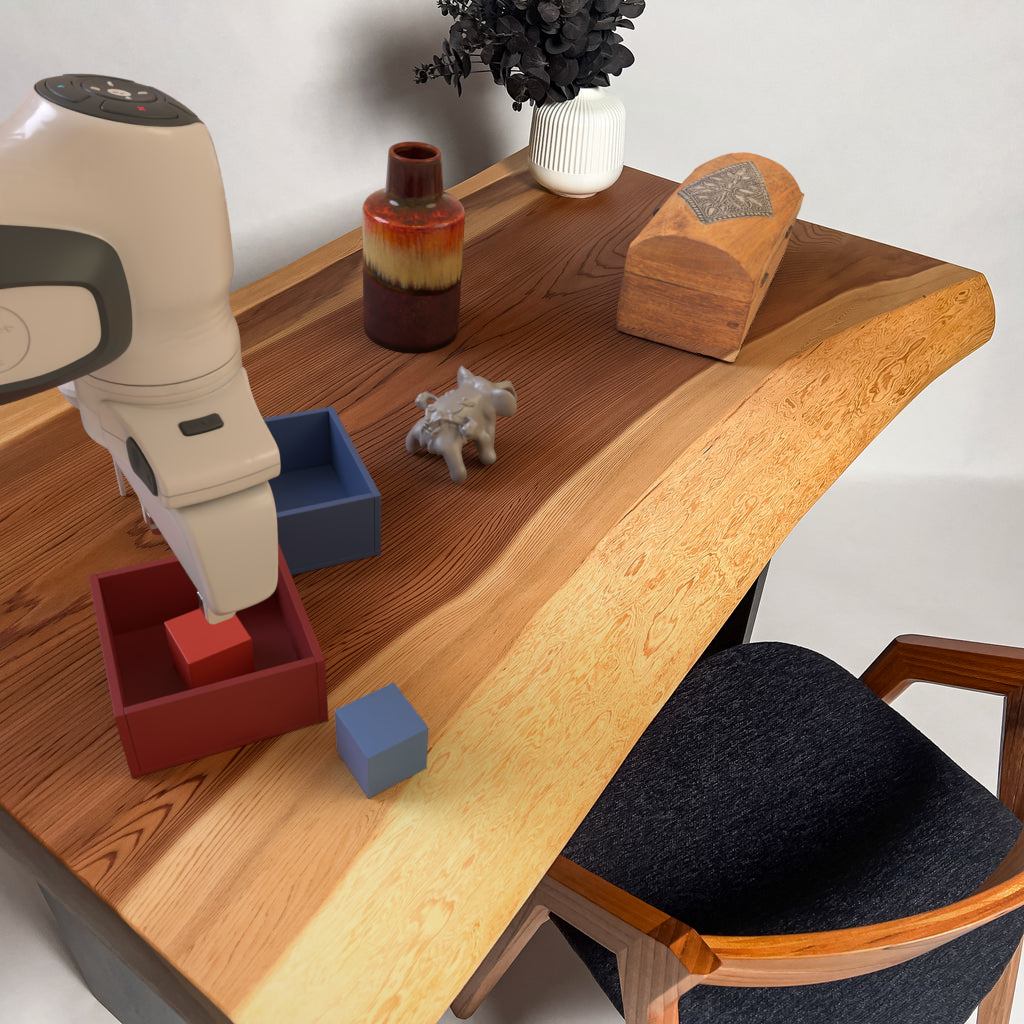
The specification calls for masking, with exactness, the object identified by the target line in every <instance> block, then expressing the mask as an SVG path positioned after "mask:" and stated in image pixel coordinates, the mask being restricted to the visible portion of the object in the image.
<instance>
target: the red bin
mask: <svg viewBox="0 0 1024 1024" xmlns="http://www.w3.org/2000/svg"><path fill="white" fill-rule="evenodd" d="M87 578H88V582H89V588H90V592H91V598H92V604H93V609H94V615H95V620H96V625H97V631H98V636H99V641H100V646H101V652H102V657H103V658H102V659H103V663H104V668H105V669H104V670H105V673H106V679H107V684H108V690H109V696H110V701H111V706H112V707H111V708H112V711H113V717H114V721H115V725H116V728H117V731H118V735H119V738H120V743H121V746H122V750H123V752H124V755H125V760H126V763H127V767H128V770H129V773H130V777H131V779H137V778H139V777H143V776H145V775H149V774H153V773H156V772H159V771H162V770H166V769H169V768H172V767H176V766H179V765H183V764H186V763H189V762H193V761H197V760H200V759H203V758H207V757H210V756H213V755H217V754H220V753H224V752H227V751H230V750H234V749H237V748H241V747H243V746H247V745H250V744H254V743H257V742H261V741H264V740H267V739H270V738H274V737H277V736H281V735H284V734H288V733H291V732H294V731H297V730H301V729H304V728H308V727H311V726H314V725H317V724H321V723H324V722H327V721H329V706H328V688H327V685H328V684H327V669H326V668H327V667H326V659H325V656H324V654H323V651H322V648H321V646H320V643H319V641H318V639H317V636H316V633H315V631H314V629H313V626H312V624H311V621H310V618H309V615H308V614H307V611H306V608H305V606H304V603H303V601H302V599H301V596H300V593H299V590H298V588H297V585H296V583H295V580H294V578H293V575H291V573H290V570H289V568H288V565H287V563H286V560H285V558H284V555H283V553H282V550H281V548H280V545H279V543H278V582H277V587H276V589H275V591H274V593H273V594H272V595H271V596H270V597H268V598H267V599H265V600H264V601H262V602H260V603H257V604H255V605H253V606H250V607H248V608H245V609H242V610H239V611H236V613H235V614H236V616H237V617H238V619H239V620H240V622H241V623H242V625H243V626H244V628H245V629H246V631H247V633H248V634H249V636H250V637H251V639H252V647H253V655H254V663H255V671H256V672H254V673H250V674H247V675H243V676H239V677H236V678H232V679H228V680H224V681H221V682H217V683H213V684H210V685H206V686H202V687H199V688H195V689H191V690H187V688H186V687H185V685H184V683H183V681H182V680H181V678H180V676H179V674H178V673H177V671H176V669H175V667H174V665H173V663H172V658H171V653H170V648H169V644H168V639H167V634H166V629H165V625H164V622H166V621H168V620H171V619H174V618H176V617H179V616H182V615H184V614H187V613H189V612H192V611H195V610H197V609H200V608H199V601H198V595H197V592H198V590H197V588H196V587H195V585H194V583H193V582H192V580H191V579H190V577H189V576H188V574H187V573H186V571H185V569H184V568H183V566H182V565H181V563H180V562H179V560H178V558H177V557H176V555H173V556H169V557H163V558H161V559H155V560H151V561H147V562H142V563H137V564H133V565H128V566H123V567H120V568H115V569H109V570H105V571H100V572H96V573H91V574H88V576H87Z"/></svg>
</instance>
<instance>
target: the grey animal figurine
mask: <svg viewBox="0 0 1024 1024" xmlns="http://www.w3.org/2000/svg"><path fill="white" fill-rule="evenodd" d="M456 382H457V388H456V389H450V390H449V391H445V393H444V394H442V395H441V396H440V397H437V396H436V395H434V394H432V393H430V392H429V391H427V390H426V391H423V392H421V393H419V394H418V395H417V396H416V398H415V400H414V405H415V406H416V407H417V408H419V409H420V410H422V411H424V417H423V416H422V418H420V419H419V420H418V421H417V422H416V423H415V424H414V425H413V426H412V427H411V429H410V430H409V431H408V433H407V435H406V437H405V448H406V451H407V452H408V453H409V454H415V453H417V452H418V451H419V450H420V448H421V449H425V448H427V451H428V453H430V454H432V455H435V454H436V456H442V457H443V458H444V460H445V462H446V465H447V467H448V470H449V477H450V479H451V481H452V482H453V483H456V484H462V483H463V482H464V481H465V480H466V479H467V477H468V472H467V468H466V465H465V463H464V460H463V459H464V458H463V454H462V451H463V446H465V445H466V444H468V441H471V440H472V442H473V445H474V447H475V449H476V451H477V453H478V457H479V460H480V462H481V463H482V464H483V465H486V466H491V465H493V464H494V463H496V461H497V453H496V451H495V439H496V426H497V416H499V417H504V418H505V417H506V418H510V417H512V416H514V415H515V414H516V412H517V411H518V404H517V402H518V395H517V394H518V393H516V390H515V386H514V385H513V384H512V383H513V382H511V380H504V381H500V382H492V381H489V380H488V379H486V378H485V377H482V376H481V375H475V374H473V373H472V372H471V371H470V370H469V369H467V368H465V367H464V366H463V365H461V366H459V368H458V371H457V374H456ZM430 400H433V401H434V402H433V403H429V401H430Z"/></svg>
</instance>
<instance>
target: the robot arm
mask: <svg viewBox="0 0 1024 1024" xmlns="http://www.w3.org/2000/svg"><path fill="white" fill-rule="evenodd" d="M221 169H222V168H221V166H220V161H219V157H218V153H217V150H216V146H215V144H214V141H213V138H212V135H211V133H210V131H209V129H208V127H207V125H206V124H205V122H204V121H203V120H201V118H199V117H198V115H197V114H196V113H195V112H193V110H191V109H190V108H189V107H188V106H186V105H184V104H183V103H182V102H180V101H179V100H178V99H176V98H175V97H173V96H171V95H169V94H167V92H164V91H162V90H160V89H158V88H157V87H154V86H150V85H146V84H142V83H138V82H136V81H134V80H132V79H126V78H123V77H117V76H111V75H105V74H96V73H63V74H61V75H56V76H51V77H50V76H49V77H45V78H42V79H40V80H38V81H37V82H35V83H34V84H33V85H32V87H31V89H30V90H29V92H28V93H27V95H26V97H25V98H24V99H23V101H22V103H21V104H20V105H19V106H18V107H17V108H16V109H15V110H14V111H13V112H12V113H11V114H10V115H9V116H7V118H6V119H4V120H3V121H2V122H1V123H0V407H2V406H6V405H8V404H12V403H15V402H19V401H21V400H24V399H27V398H29V397H33V396H37V395H39V394H41V393H44V392H46V391H50V390H52V389H55V388H58V386H61V385H63V384H66V383H68V382H71V381H74V386H75V391H76V396H77V400H78V405H79V409H78V410H79V413H80V418H81V423H82V427H83V428H84V431H85V432H86V434H87V435H88V437H90V438H91V439H92V440H93V441H94V442H95V443H97V444H98V445H100V446H101V447H103V448H105V449H107V450H108V453H110V456H112V459H113V458H114V460H115V461H116V463H117V464H118V466H119V468H120V469H121V471H122V475H123V476H124V477H125V479H126V480H127V482H128V483H129V485H130V487H131V488H132V490H133V491H134V492H135V495H136V496H137V499H138V500H139V503H140V505H141V510H142V516H143V521H144V522H145V524H146V526H147V528H148V529H149V530H150V532H151V533H152V534H153V535H154V536H160V535H162V537H163V538H164V540H165V542H166V543H167V545H168V546H169V547H170V550H172V552H173V554H174V556H176V557H177V558H178V560H179V562H180V563H181V565H182V566H183V568H184V569H185V571H186V573H187V574H188V576H189V577H190V579H191V580H192V582H193V583H194V585H195V587H196V588H197V590H198V592H197V595H198V601H199V608H200V609H201V611H202V613H203V614H204V616H205V618H206V619H207V621H208V622H209V623H210V624H217V623H220V622H222V621H225V620H228V619H230V618H232V617H233V616H234V615H235V613H236V611H239V610H242V609H245V608H248V607H250V606H253V605H255V604H257V603H260V602H262V601H264V600H265V599H267V598H268V597H270V596H271V595H272V594H273V593H274V591H275V589H276V587H277V582H278V531H277V515H276V507H275V502H274V497H273V493H272V490H271V487H270V485H269V482H268V480H270V479H272V478H274V477H277V476H278V475H279V474H280V468H281V465H280V454H279V449H278V446H277V444H276V442H275V440H274V438H273V436H272V434H271V432H270V430H269V428H268V426H267V425H266V423H265V421H264V419H263V418H264V417H263V414H262V412H261V410H260V409H259V406H258V404H257V403H256V400H255V398H254V395H253V392H252V388H251V385H250V380H249V375H248V373H247V369H246V368H245V367H244V366H243V359H242V345H241V334H240V330H239V325H238V322H237V320H236V318H235V316H234V313H233V311H232V307H231V303H230V290H231V284H232V280H233V277H234V271H235V261H234V260H235V259H234V251H233V239H232V232H231V223H230V216H229V207H228V201H227V197H226V196H227V195H226V190H225V183H224V179H223V174H222V170H221Z"/></svg>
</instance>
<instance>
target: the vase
mask: <svg viewBox="0 0 1024 1024" xmlns="http://www.w3.org/2000/svg"><path fill="white" fill-rule="evenodd" d="M387 152H388V153H387V162H386V163H387V164H386V176H385V177H386V178H385V187H383V188H380V189H378V190H376V191H374V192H372V193H370V194H369V195H368V196H367V197H366V198H365V200H364V201H363V203H362V207H361V208H362V209H361V210H362V211H361V212H362V213H361V214H362V215H361V218H362V220H361V223H362V224H361V227H362V229H361V231H362V234H361V235H362V302H363V305H362V307H363V308H362V310H363V311H362V312H363V329H364V332H365V335H366V336H367V337H368V339H370V340H371V341H372V342H373V343H375V344H376V345H378V346H380V347H382V348H385V349H388V350H391V351H394V352H395V351H396V352H402V353H414V354H415V353H416V354H417V353H427V352H428V353H429V352H432V351H437V350H441V349H443V348H445V347H447V346H448V345H450V344H451V343H452V342H454V341H455V340H456V338H457V336H458V333H459V324H460V309H461V293H462V292H461V291H462V277H463V275H462V274H463V259H464V258H463V257H464V240H465V238H464V237H465V223H466V211H465V207H464V205H463V204H462V202H461V201H460V200H459V199H458V198H457V197H455V196H454V195H453V194H451V193H448V192H446V191H445V190H444V172H443V171H444V169H443V164H444V163H443V152H442V150H441V149H440V148H439V147H437V146H436V145H433V144H431V143H427V142H421V141H400V142H397V143H394V144H392V145H391V146H389V148H388V151H387Z"/></svg>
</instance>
